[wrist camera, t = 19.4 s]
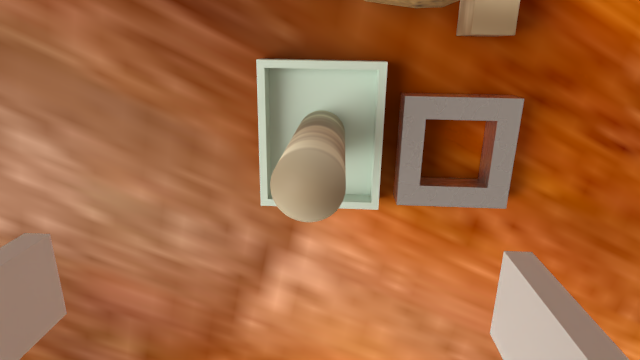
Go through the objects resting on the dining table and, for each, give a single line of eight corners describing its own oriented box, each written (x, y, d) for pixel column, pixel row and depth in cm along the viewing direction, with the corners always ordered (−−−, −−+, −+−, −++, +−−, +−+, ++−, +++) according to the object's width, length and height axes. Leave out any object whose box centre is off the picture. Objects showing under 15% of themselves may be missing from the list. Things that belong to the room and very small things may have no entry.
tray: (262, 58, 34) (256, 59, 32) (384, 60, 34) (387, 62, 31) (266, 195, 38) (260, 205, 35) (376, 199, 37) (378, 209, 35)
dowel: (298, 109, 35) (269, 148, 21) (346, 111, 34) (347, 151, 21) (297, 155, 36) (270, 220, 22) (343, 157, 36) (344, 223, 22)
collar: (400, 92, 34) (405, 96, 32) (511, 94, 34) (524, 98, 31) (393, 194, 37) (396, 204, 35) (495, 198, 37) (506, 208, 34)
